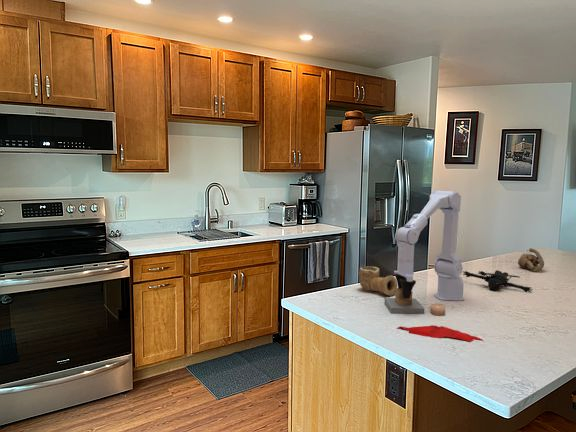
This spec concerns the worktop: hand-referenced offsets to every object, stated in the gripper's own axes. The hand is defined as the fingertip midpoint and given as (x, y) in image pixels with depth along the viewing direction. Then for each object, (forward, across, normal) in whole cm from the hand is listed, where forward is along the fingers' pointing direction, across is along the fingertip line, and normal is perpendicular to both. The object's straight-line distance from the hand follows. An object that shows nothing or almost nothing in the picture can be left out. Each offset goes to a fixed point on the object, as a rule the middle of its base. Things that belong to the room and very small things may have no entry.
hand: (404, 295), depth 160 cm
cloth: (+6, +24, +6) cm, 26 cm away
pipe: (+5, -21, -7) cm, 22 cm away
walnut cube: (+3, 0, 0) cm, 3 cm away
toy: (+6, -38, +52) cm, 65 cm away
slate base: (+5, 0, 0) cm, 5 cm away
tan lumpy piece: (+5, -70, +83) cm, 108 cm away
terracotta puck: (+5, +5, +11) cm, 13 cm away
